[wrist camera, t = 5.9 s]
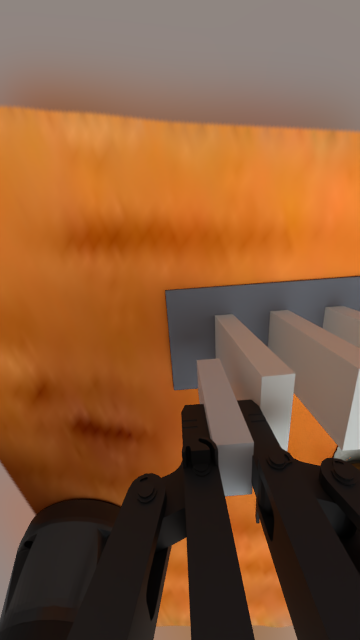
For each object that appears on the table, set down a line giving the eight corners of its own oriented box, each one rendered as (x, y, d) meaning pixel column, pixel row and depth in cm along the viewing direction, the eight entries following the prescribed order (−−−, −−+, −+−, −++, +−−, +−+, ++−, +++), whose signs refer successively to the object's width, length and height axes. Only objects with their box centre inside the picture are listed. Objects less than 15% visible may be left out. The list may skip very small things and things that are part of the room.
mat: (174, 387, 23) (174, 390, 22) (165, 290, 19) (165, 291, 19) (485, 364, 23) (490, 366, 22) (525, 264, 20) (532, 264, 19)
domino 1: (215, 365, 21) (257, 458, 12) (214, 315, 20) (261, 376, 10) (232, 363, 21) (286, 455, 12) (232, 313, 20) (295, 373, 10)
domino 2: (267, 360, 21) (342, 450, 12) (270, 311, 20) (359, 368, 10) (283, 359, 21) (371, 448, 12) (287, 309, 20) (393, 366, 10)
